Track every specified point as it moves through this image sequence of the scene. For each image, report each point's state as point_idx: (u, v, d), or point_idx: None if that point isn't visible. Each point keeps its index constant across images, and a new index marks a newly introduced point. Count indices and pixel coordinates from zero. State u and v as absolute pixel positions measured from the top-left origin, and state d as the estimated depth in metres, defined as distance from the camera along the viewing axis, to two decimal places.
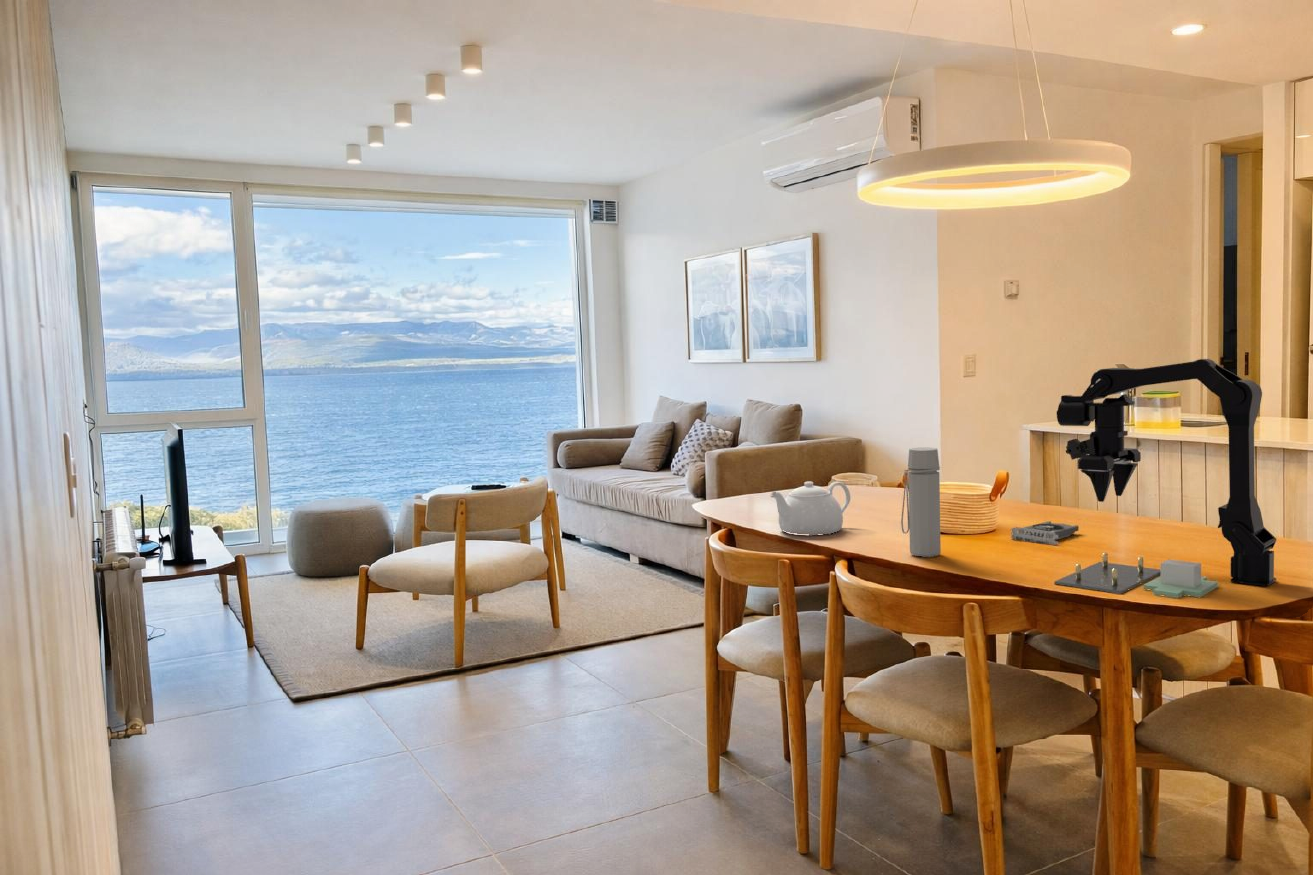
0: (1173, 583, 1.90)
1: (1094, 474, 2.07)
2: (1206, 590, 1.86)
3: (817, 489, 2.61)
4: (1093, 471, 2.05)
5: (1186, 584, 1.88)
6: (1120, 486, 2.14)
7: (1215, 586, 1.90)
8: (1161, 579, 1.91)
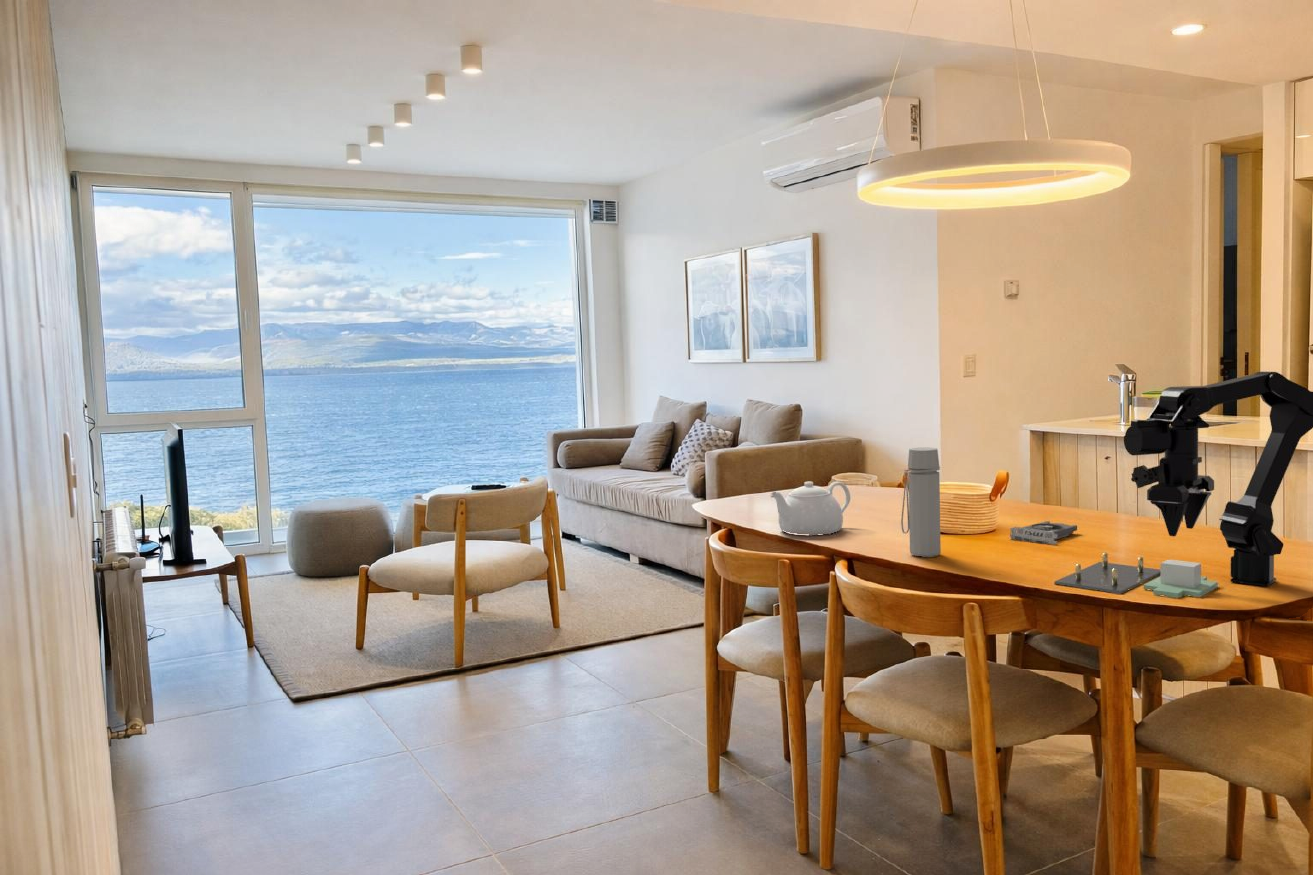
0: (1173, 583, 1.90)
1: (1165, 506, 1.86)
2: (1206, 590, 1.86)
3: (817, 489, 2.61)
4: (1165, 503, 1.84)
5: (1186, 584, 1.88)
6: (1192, 518, 1.92)
7: (1215, 586, 1.90)
8: (1161, 579, 1.91)
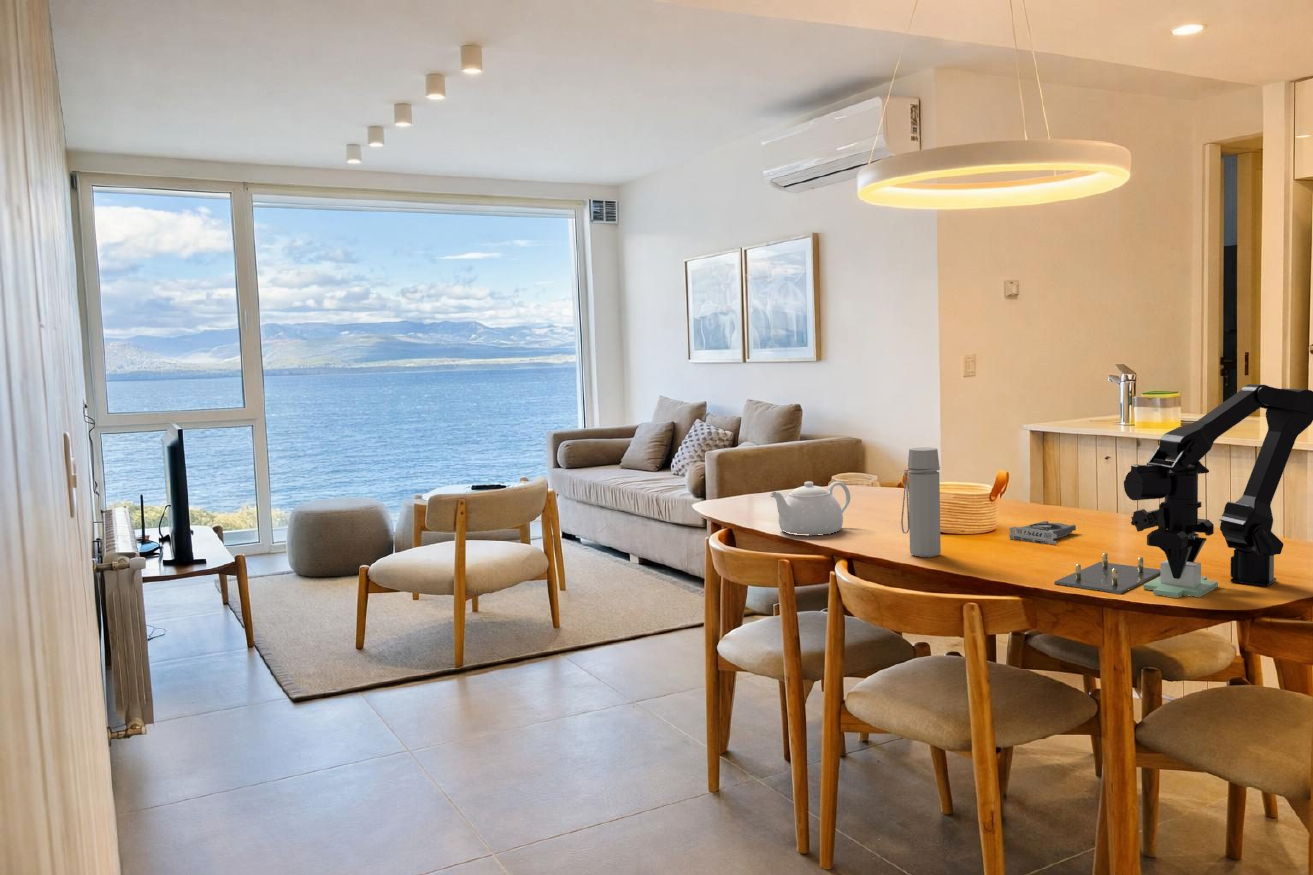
0: (1173, 583, 1.90)
1: (1170, 549, 1.88)
2: (1206, 590, 1.86)
3: (817, 489, 2.61)
4: None
5: (1186, 584, 1.88)
6: None
7: (1215, 586, 1.90)
8: (1161, 579, 1.91)
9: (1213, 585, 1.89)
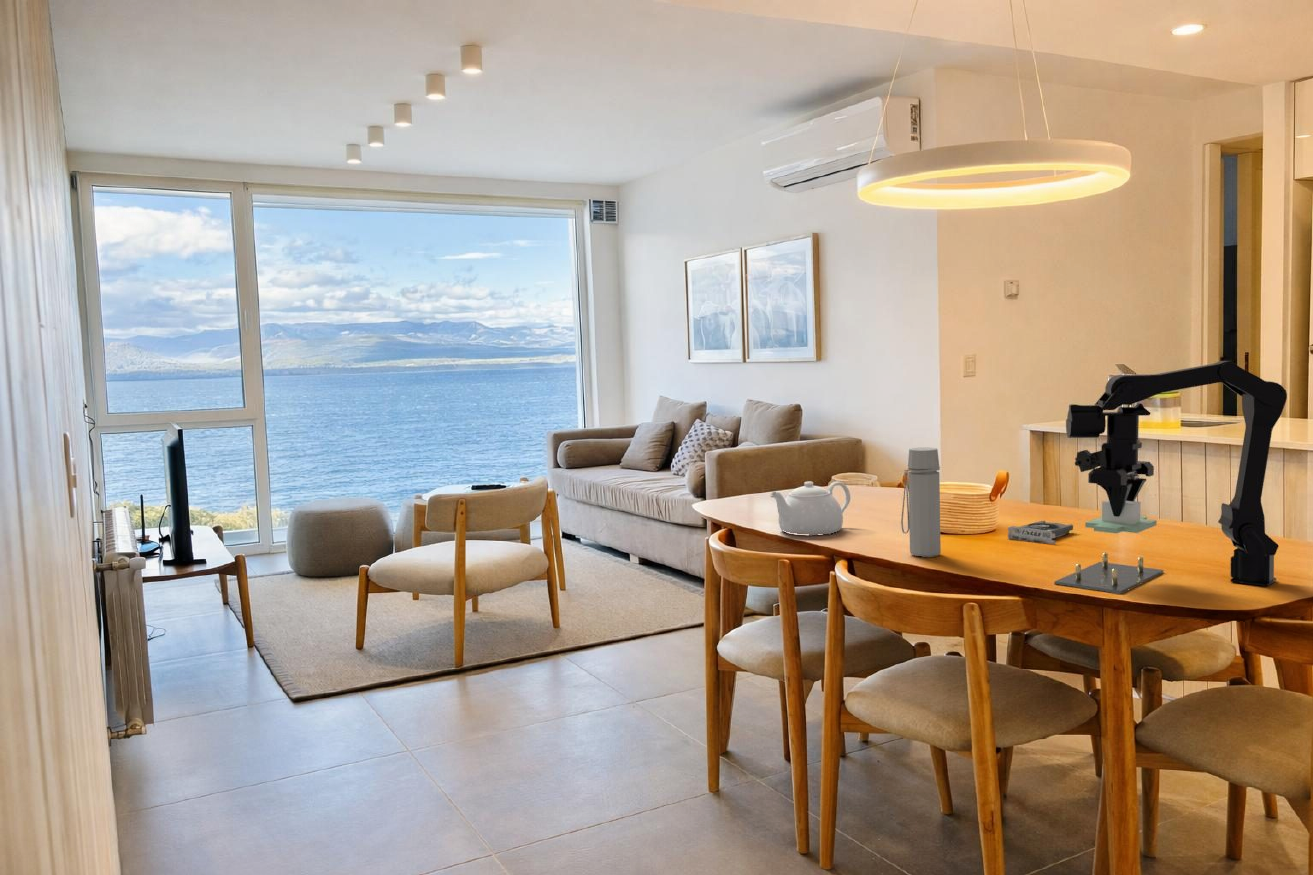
0: (1113, 521, 1.96)
1: (1110, 487, 1.95)
2: (1144, 527, 1.93)
3: (817, 489, 2.61)
4: None
5: (1126, 521, 1.95)
6: None
7: (1154, 524, 1.97)
8: (1102, 517, 1.98)
9: (1152, 523, 1.96)
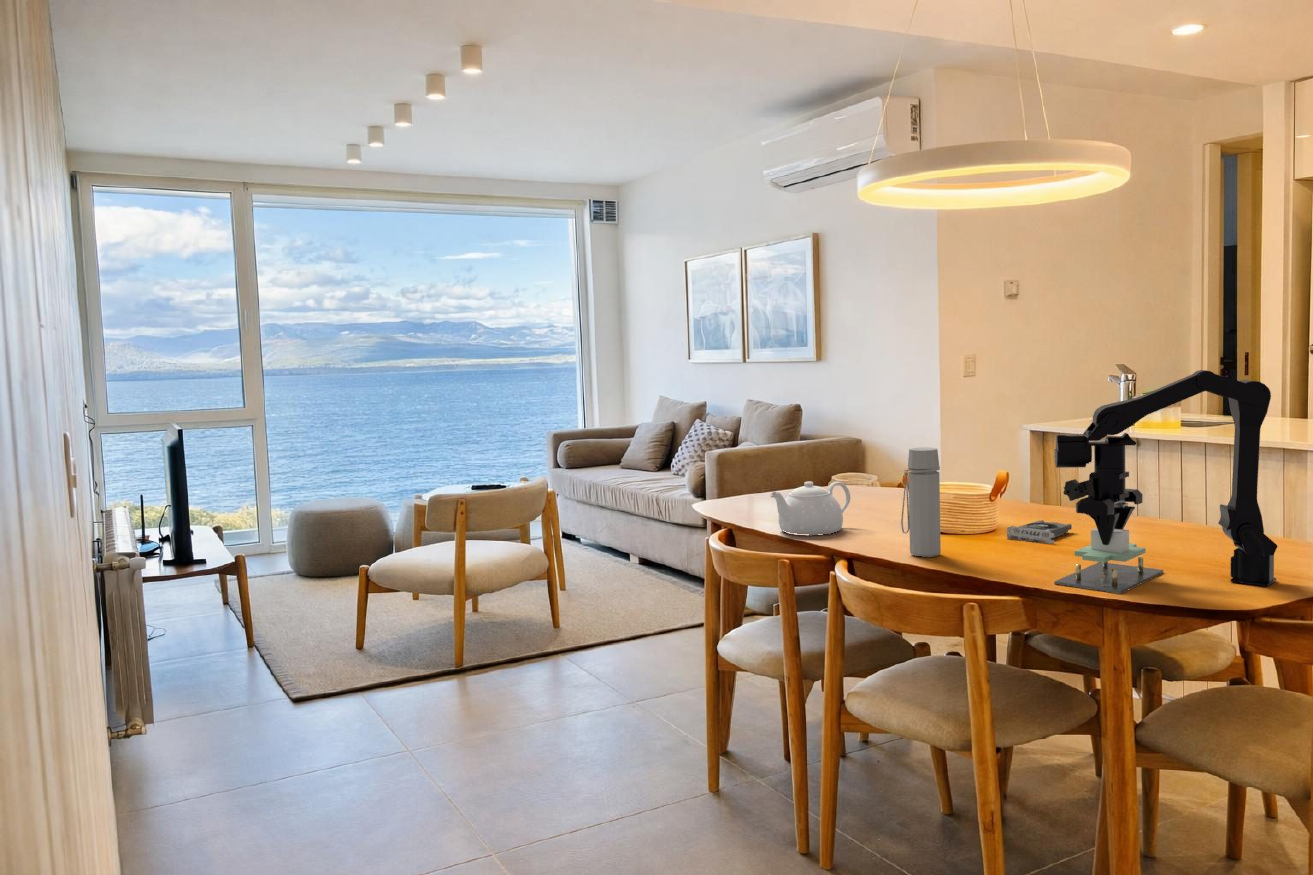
0: (1102, 549, 1.99)
1: (1098, 516, 1.97)
2: (1133, 555, 1.95)
3: (817, 489, 2.61)
4: None
5: (1114, 550, 1.97)
6: None
7: (1142, 552, 1.99)
8: (1091, 545, 2.00)
9: (1140, 551, 1.98)
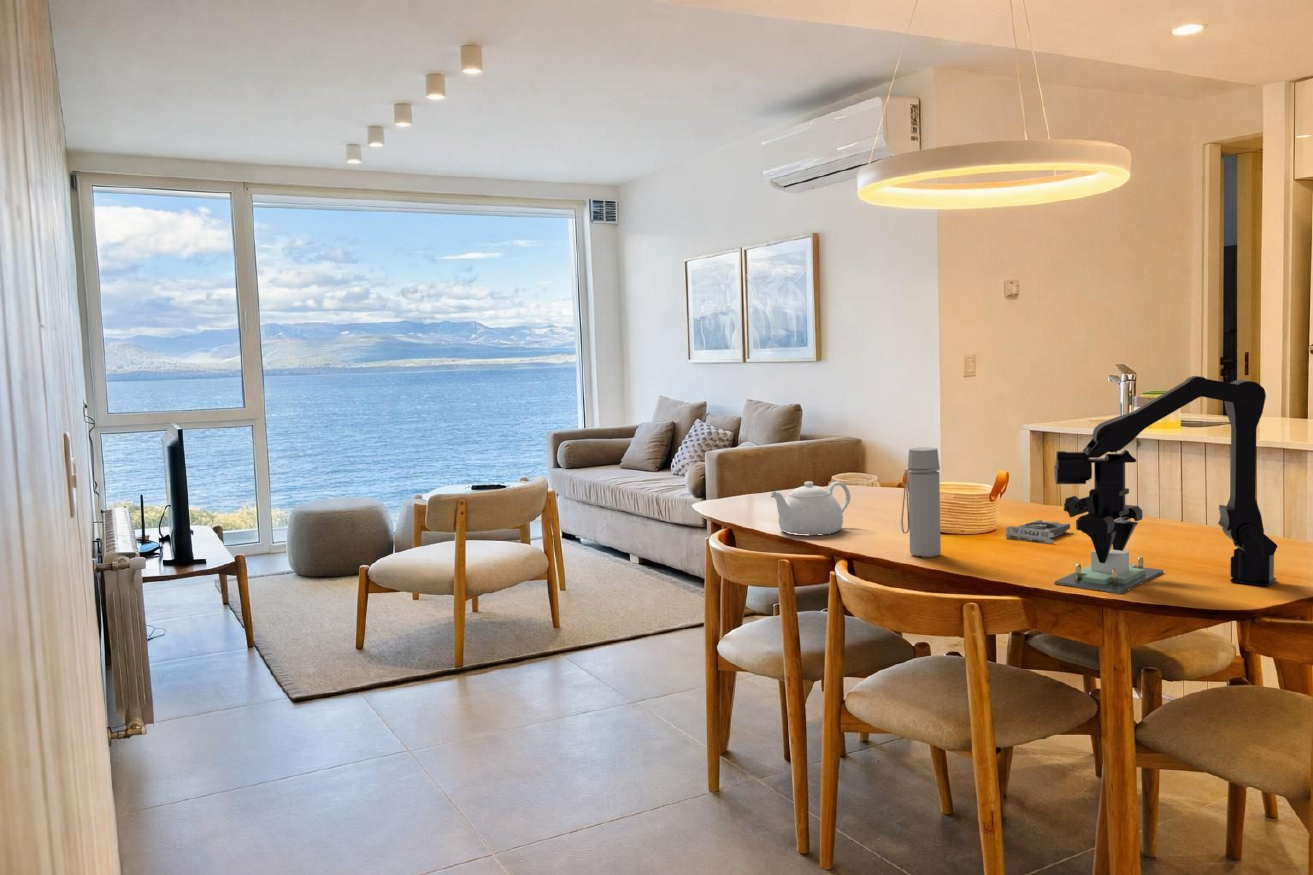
0: (1102, 570, 1.99)
1: (1095, 534, 1.97)
2: (1132, 577, 1.96)
3: (817, 489, 2.61)
4: (1094, 532, 1.95)
5: None
6: (1119, 546, 2.02)
7: (1142, 573, 1.99)
8: (1092, 567, 2.01)
9: (1140, 572, 1.99)
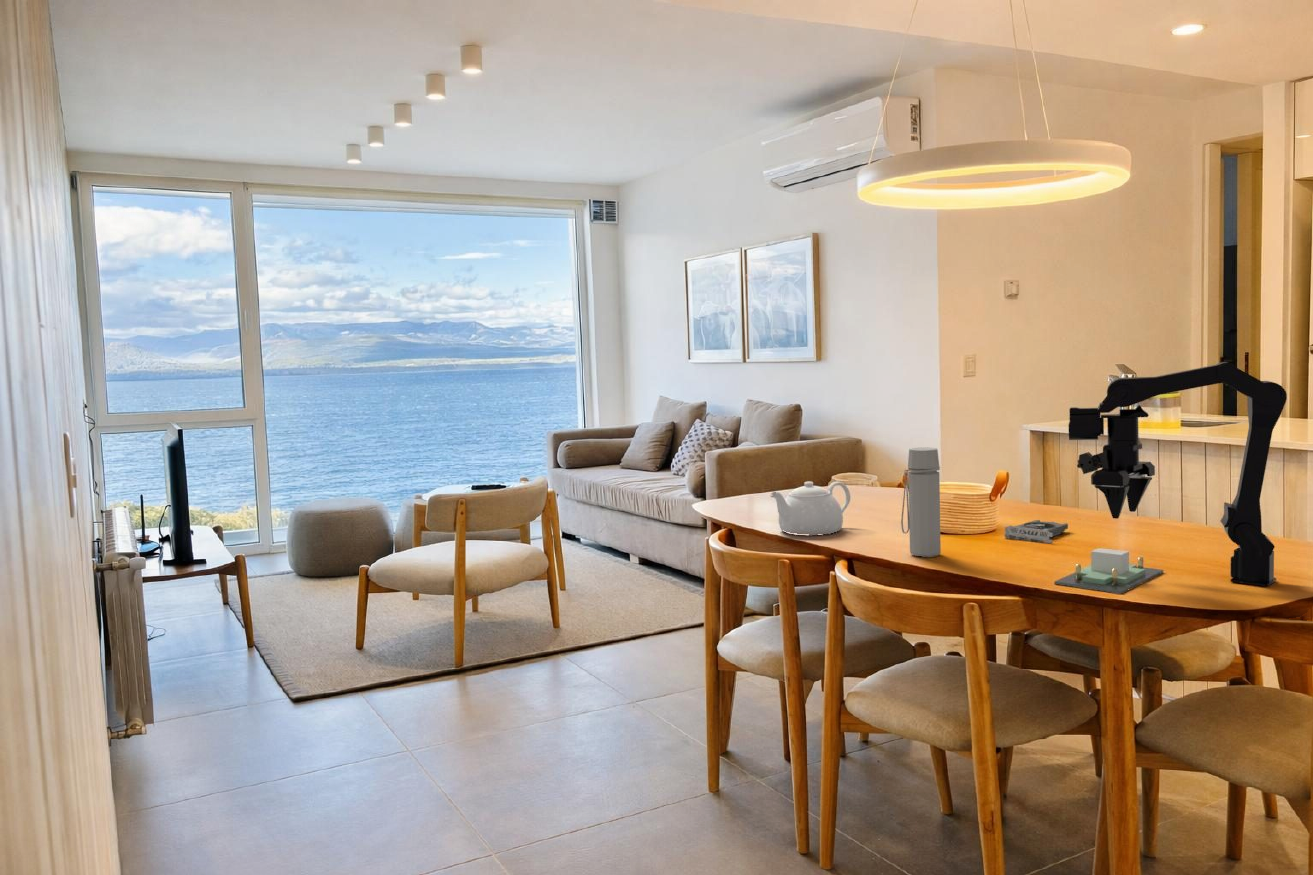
0: (1102, 570, 1.99)
1: (1108, 490, 1.97)
2: (1132, 577, 1.96)
3: (817, 489, 2.61)
4: (1108, 487, 1.95)
5: None
6: (1134, 501, 2.04)
7: (1142, 573, 1.99)
8: (1092, 567, 2.01)
9: (1140, 572, 1.99)
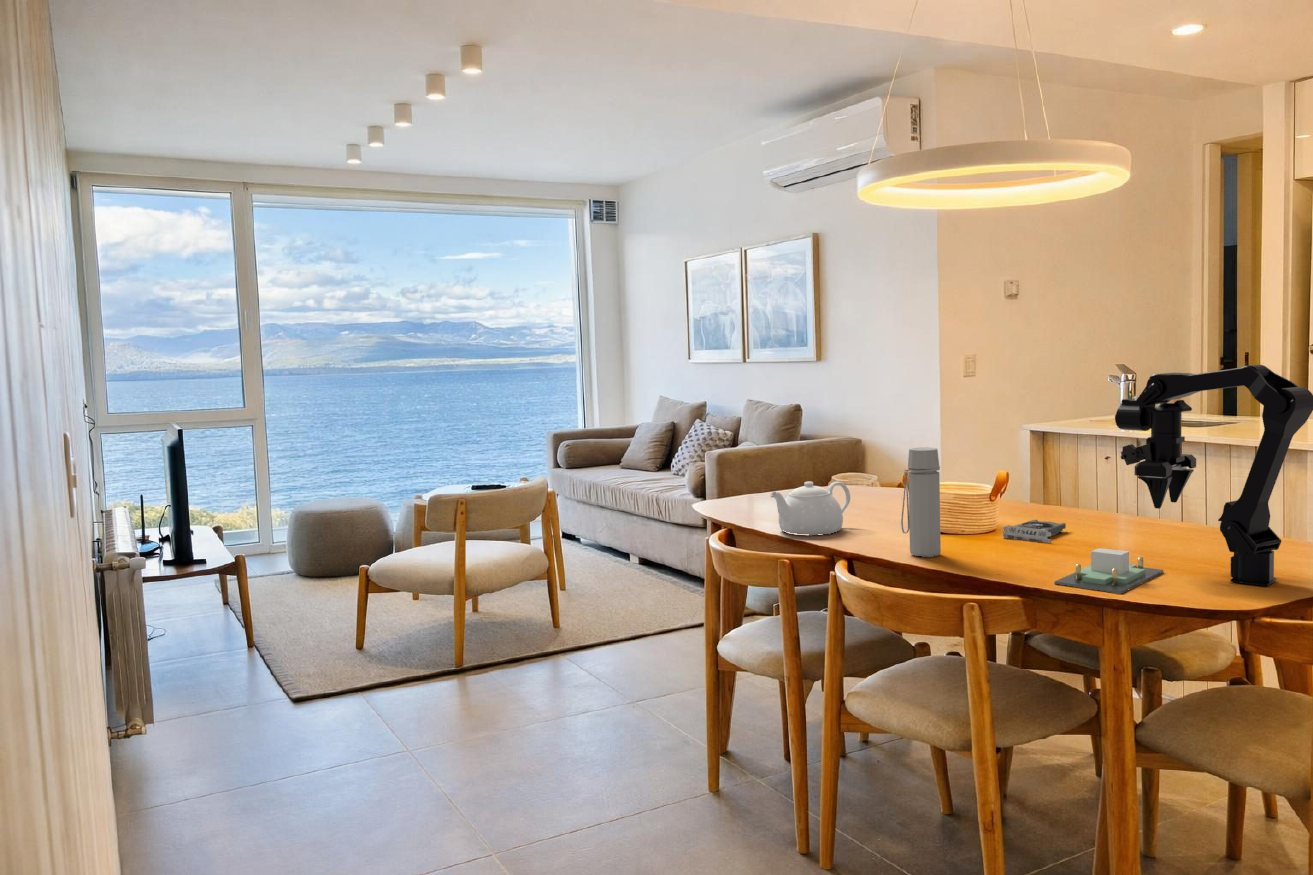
0: (1102, 570, 1.99)
1: (1151, 480, 2.04)
2: (1132, 577, 1.96)
3: (817, 489, 2.61)
4: (1151, 477, 2.02)
5: None
6: (1175, 492, 2.11)
7: (1142, 573, 1.99)
8: (1092, 567, 2.01)
9: (1140, 572, 1.99)
